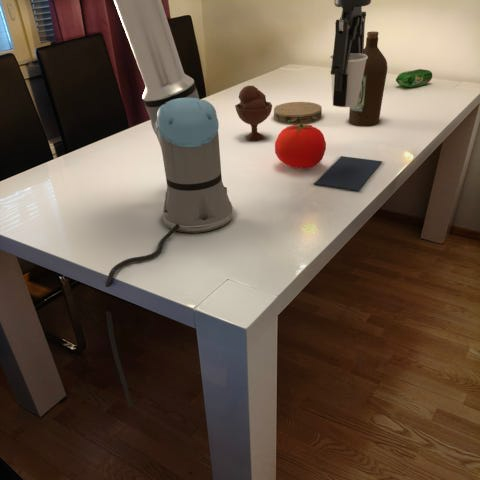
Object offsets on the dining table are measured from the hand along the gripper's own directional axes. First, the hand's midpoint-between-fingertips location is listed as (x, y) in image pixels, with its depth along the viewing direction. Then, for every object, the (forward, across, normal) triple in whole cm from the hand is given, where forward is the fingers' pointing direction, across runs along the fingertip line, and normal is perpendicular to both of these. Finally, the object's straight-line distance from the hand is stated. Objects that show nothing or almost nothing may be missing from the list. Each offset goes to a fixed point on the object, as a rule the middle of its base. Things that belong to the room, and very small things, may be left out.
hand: (345, 100), depth 114 cm
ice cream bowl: (+17, +17, +33) cm, 41 cm away
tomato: (+17, 0, +11) cm, 20 cm away
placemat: (+17, 0, -2) cm, 17 cm away
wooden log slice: (+17, +41, +29) cm, 53 cm away
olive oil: (+17, +43, +7) cm, 47 cm away
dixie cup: (+1, 0, 0) cm, 1 cm away
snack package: (+17, +94, +2) cm, 95 cm away
